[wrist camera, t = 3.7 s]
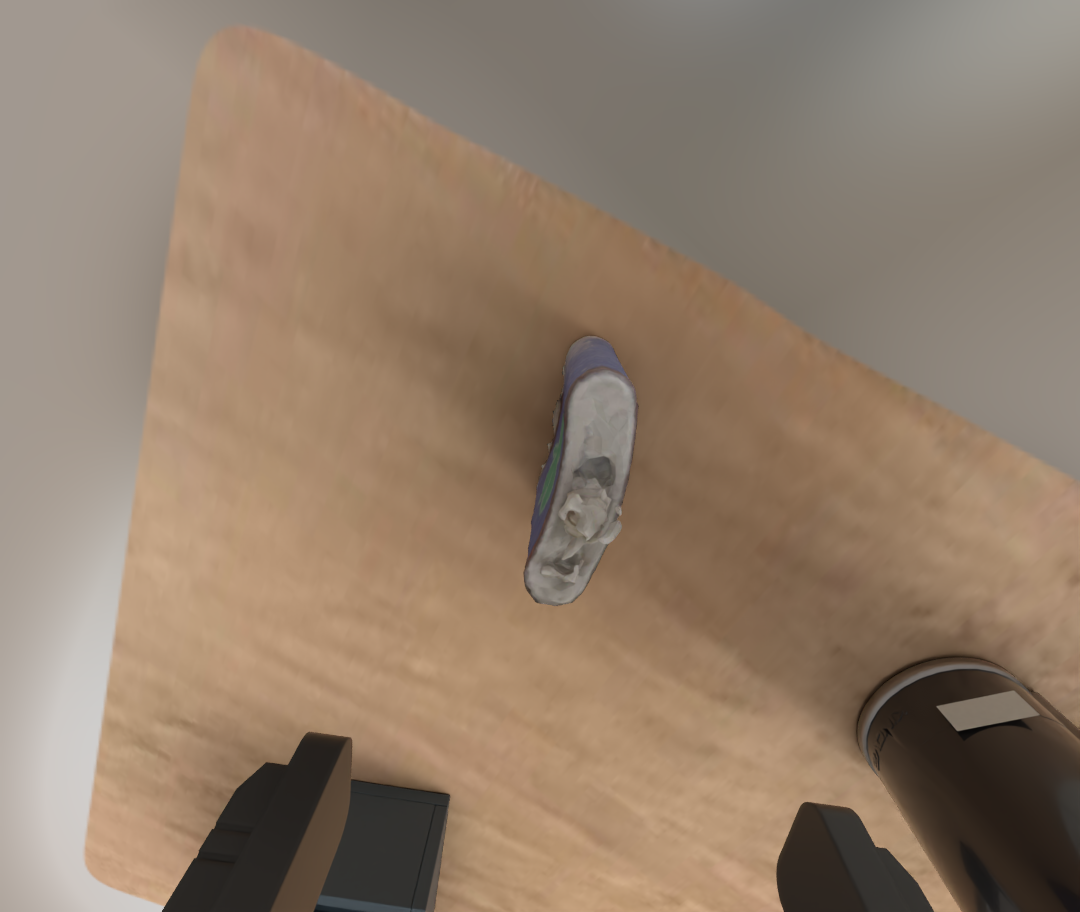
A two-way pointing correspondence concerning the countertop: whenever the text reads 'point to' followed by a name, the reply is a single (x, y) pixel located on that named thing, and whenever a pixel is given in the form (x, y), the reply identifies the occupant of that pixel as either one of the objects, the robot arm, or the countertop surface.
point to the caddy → (387, 852)
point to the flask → (582, 473)
